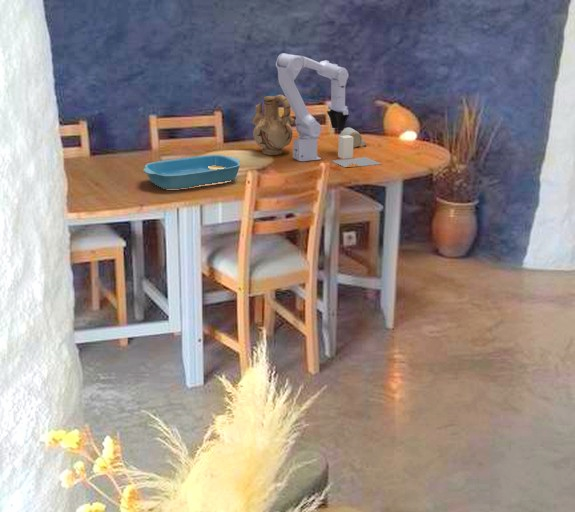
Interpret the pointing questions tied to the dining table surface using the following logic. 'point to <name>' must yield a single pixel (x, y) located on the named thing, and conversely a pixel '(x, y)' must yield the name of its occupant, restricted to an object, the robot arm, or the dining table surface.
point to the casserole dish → (192, 171)
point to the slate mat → (356, 162)
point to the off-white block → (345, 147)
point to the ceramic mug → (355, 134)
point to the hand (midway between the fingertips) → (337, 129)
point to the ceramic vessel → (273, 125)
